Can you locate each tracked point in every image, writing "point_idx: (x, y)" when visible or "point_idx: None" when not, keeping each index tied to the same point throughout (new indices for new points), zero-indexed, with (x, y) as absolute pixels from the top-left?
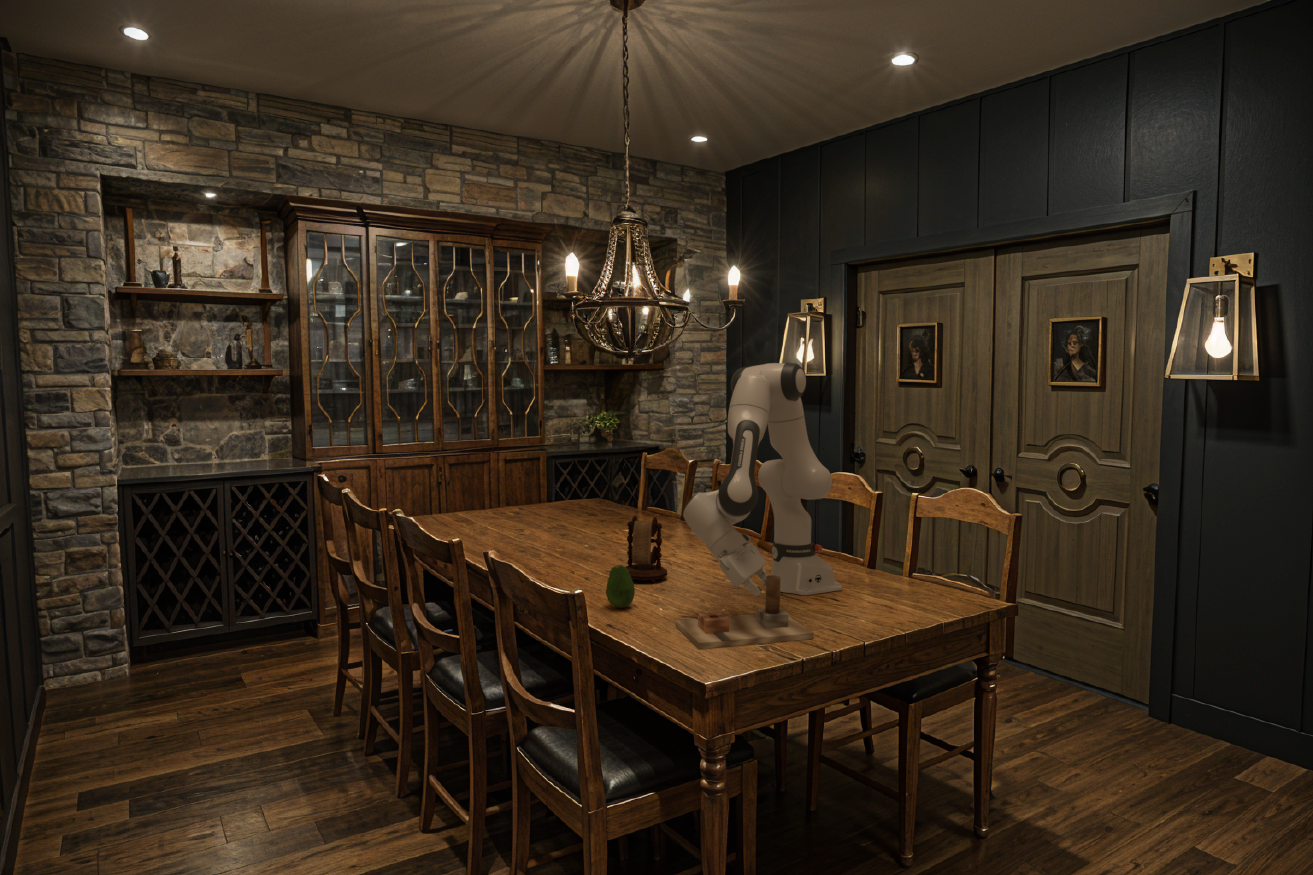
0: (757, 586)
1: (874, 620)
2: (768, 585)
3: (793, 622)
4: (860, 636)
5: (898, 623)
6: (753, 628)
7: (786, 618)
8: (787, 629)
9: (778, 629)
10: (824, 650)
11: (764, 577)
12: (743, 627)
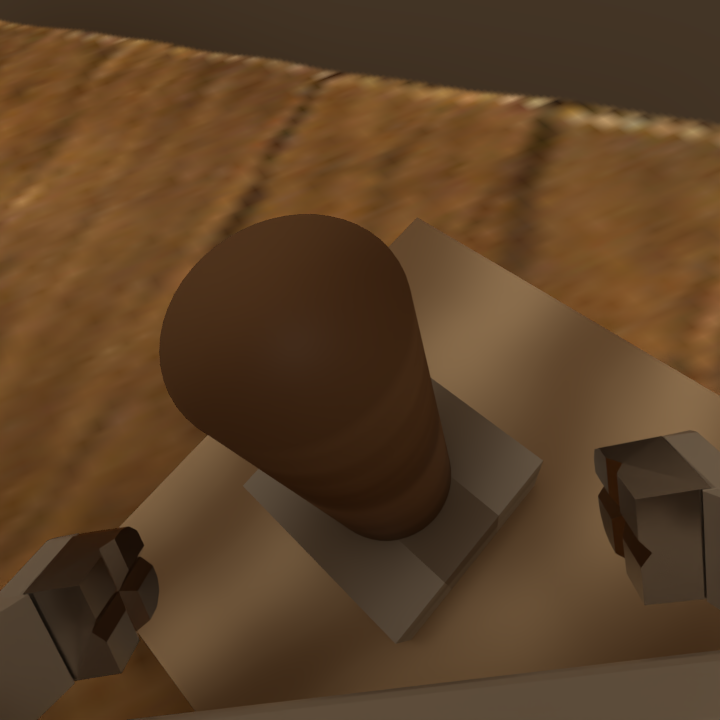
0: (685, 487)
1: (9, 167)
2: (423, 399)
3: None
4: (257, 117)
5: (23, 95)
6: (603, 579)
7: None
8: (450, 358)
9: (490, 405)
10: (559, 132)
11: (8, 663)
12: None
